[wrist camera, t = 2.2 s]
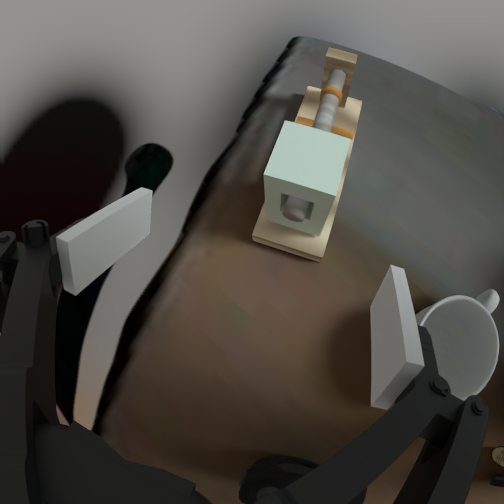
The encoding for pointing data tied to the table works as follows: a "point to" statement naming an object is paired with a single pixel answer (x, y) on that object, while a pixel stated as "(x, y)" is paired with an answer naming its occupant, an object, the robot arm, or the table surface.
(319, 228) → the sleeve
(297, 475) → the controller
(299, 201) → the lead screw slider
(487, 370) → the teacup
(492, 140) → the table surface
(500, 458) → the clutch purse
